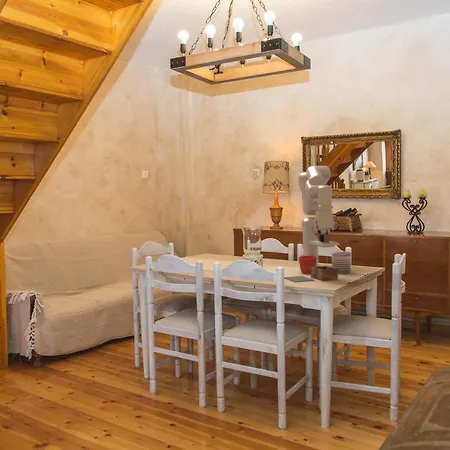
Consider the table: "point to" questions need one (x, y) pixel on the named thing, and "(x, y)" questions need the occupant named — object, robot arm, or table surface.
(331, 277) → the box
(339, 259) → the can
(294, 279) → the mat
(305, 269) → the flower pot
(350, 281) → the table surface
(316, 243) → the lid
